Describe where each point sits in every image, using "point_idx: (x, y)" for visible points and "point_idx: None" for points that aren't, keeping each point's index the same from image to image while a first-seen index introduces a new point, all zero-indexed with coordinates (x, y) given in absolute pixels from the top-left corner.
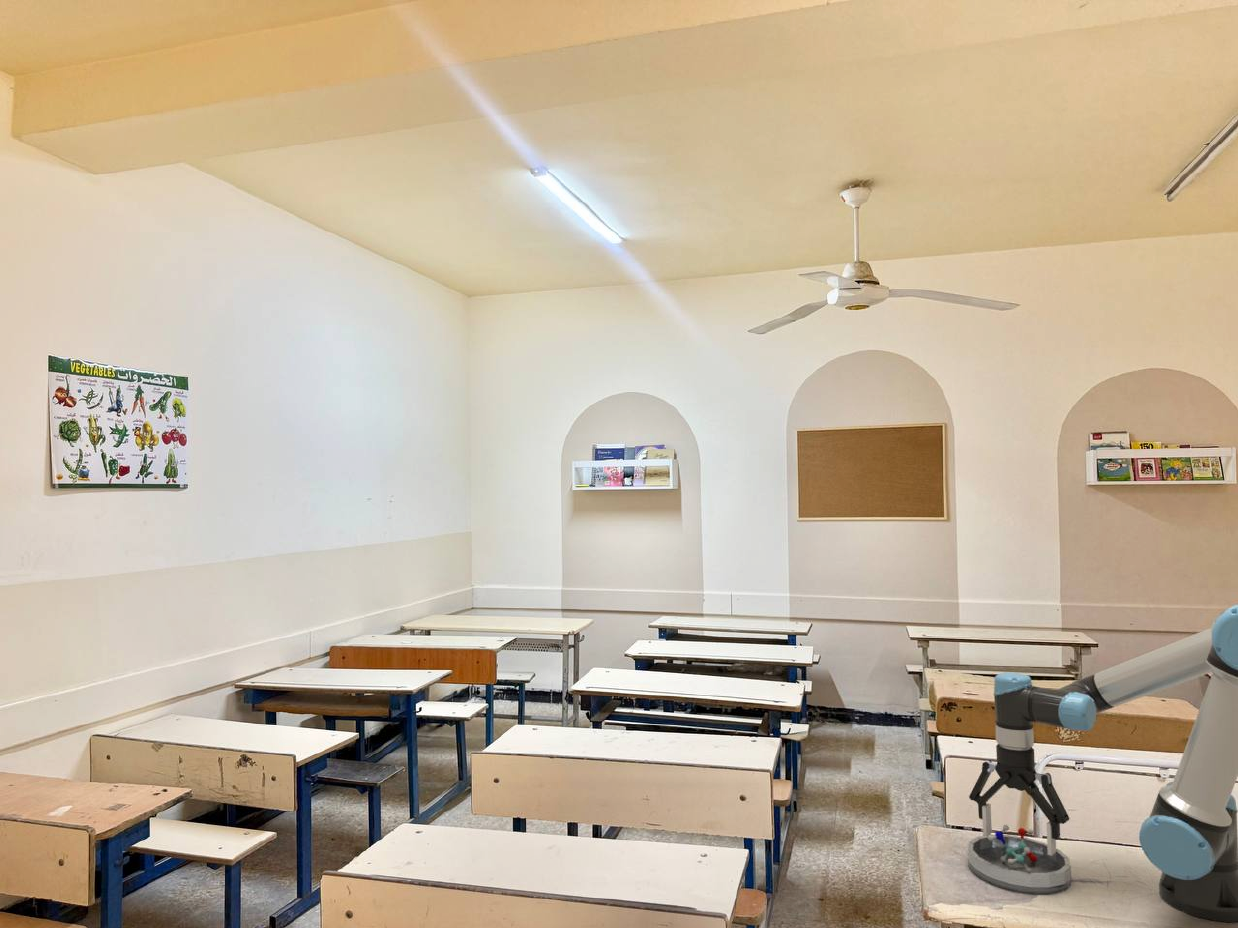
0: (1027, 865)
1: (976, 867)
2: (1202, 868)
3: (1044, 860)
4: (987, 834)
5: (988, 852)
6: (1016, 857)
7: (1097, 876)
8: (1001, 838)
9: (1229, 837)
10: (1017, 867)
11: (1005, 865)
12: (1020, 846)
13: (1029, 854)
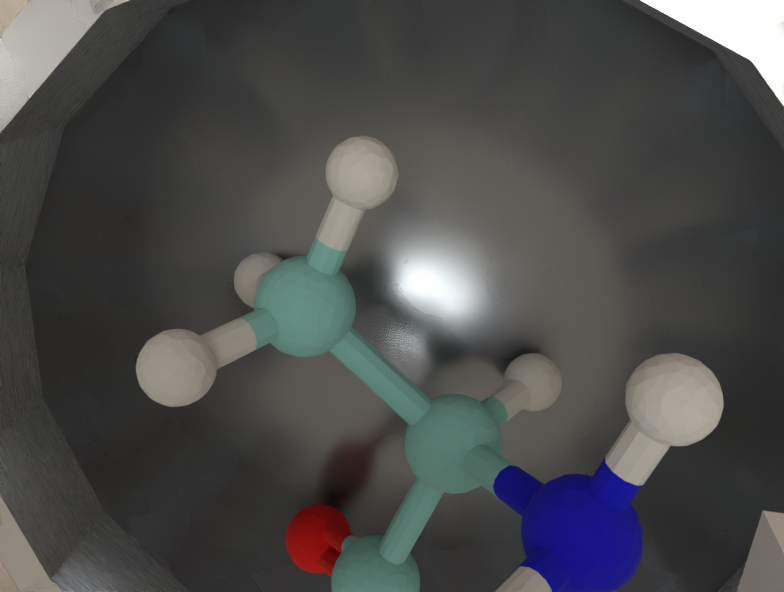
0: (338, 425)
1: None
2: None
3: (271, 582)
4: (760, 551)
5: (711, 494)
6: (324, 278)
7: (2, 587)
8: (540, 489)
9: None
10: (391, 334)
11: (495, 309)
12: (381, 561)
13: (334, 546)
